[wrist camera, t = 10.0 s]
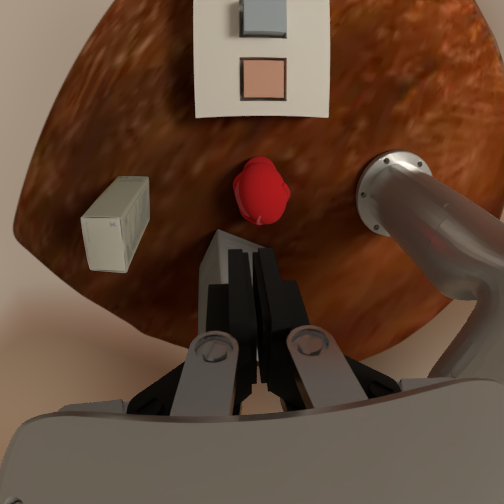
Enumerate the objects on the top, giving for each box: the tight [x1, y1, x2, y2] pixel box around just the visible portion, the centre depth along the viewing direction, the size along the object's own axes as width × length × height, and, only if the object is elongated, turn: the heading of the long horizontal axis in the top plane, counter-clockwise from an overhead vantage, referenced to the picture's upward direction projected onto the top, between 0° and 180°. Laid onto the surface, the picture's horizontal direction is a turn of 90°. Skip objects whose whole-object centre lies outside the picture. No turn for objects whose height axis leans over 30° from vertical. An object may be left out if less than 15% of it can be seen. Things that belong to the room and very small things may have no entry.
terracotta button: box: [242, 60, 284, 98], centre depth 29 cm, size 4×4×3 cm
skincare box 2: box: [198, 230, 266, 361], centre depth 36 cm, size 8×7×16 cm
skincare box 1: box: [81, 176, 150, 273], centre depth 32 cm, size 6×4×12 cm
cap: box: [233, 156, 290, 225], centre depth 36 cm, size 8×6×6 cm
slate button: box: [243, 0, 286, 36], centre depth 24 cm, size 4×4×3 cm
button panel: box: [193, 0, 330, 118], centre depth 26 cm, size 14×22×4 cm, turn 0°
